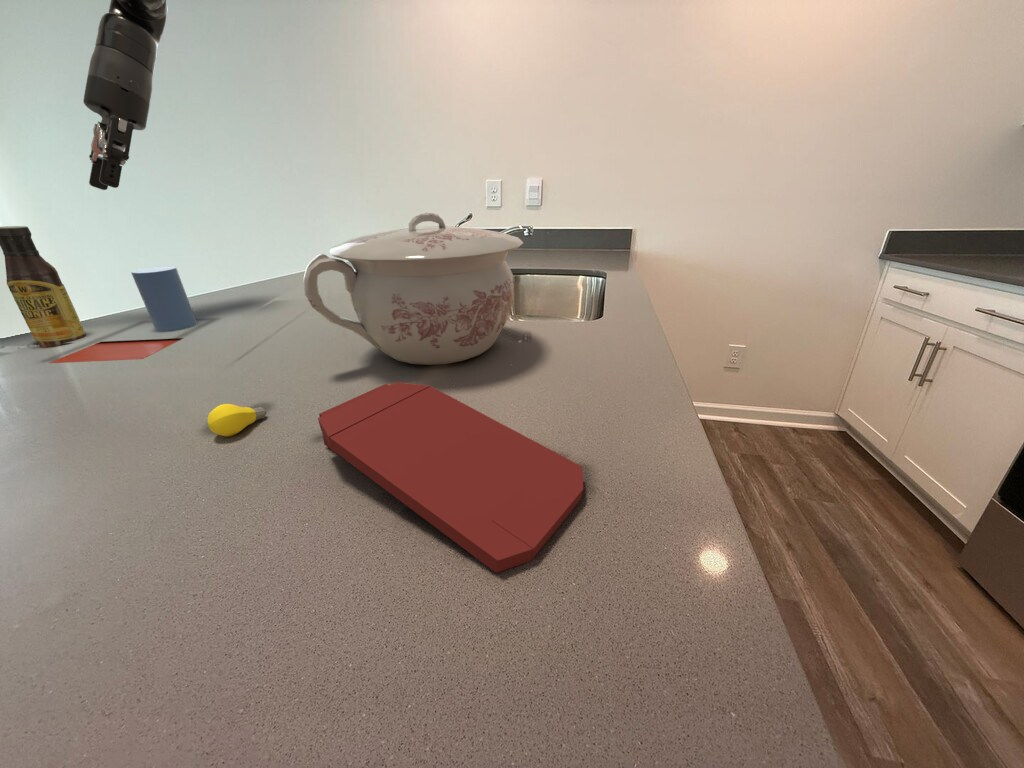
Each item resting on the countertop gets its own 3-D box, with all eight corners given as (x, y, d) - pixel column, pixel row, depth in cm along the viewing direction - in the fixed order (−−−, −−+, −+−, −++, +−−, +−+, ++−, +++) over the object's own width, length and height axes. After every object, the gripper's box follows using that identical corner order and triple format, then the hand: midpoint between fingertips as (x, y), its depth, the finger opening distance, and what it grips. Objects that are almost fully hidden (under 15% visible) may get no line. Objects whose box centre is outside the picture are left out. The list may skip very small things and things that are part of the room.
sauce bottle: (31, 353, 69) (-41, 229, 60) (57, 341, 74) (-6, 226, 66) (77, 349, 71) (14, 227, 62) (99, 337, 76) (44, 224, 67)
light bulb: (204, 441, 43) (196, 408, 43) (259, 428, 49) (252, 399, 48) (223, 438, 42) (215, 404, 41) (277, 425, 47) (270, 395, 47)
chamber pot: (529, 324, 77) (528, 206, 68) (516, 389, 53) (513, 217, 44) (387, 323, 80) (369, 209, 71) (313, 384, 56) (270, 222, 47)
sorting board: (50, 367, 63) (47, 363, 63) (145, 328, 81) (143, 324, 81) (144, 363, 64) (142, 358, 64) (218, 324, 82) (216, 321, 81)
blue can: (147, 334, 75) (121, 273, 70) (171, 324, 80) (148, 267, 75) (184, 333, 75) (160, 272, 70) (204, 322, 81) (184, 265, 76)
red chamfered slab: (584, 512, 37) (401, 404, 49) (596, 473, 35) (399, 369, 46) (506, 614, 29) (305, 453, 40) (514, 572, 26) (297, 413, 38)
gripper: (80, 82, 68) (63, 178, 69) (97, 63, 60) (78, 172, 61) (139, 110, 75) (123, 198, 76) (161, 97, 66) (143, 195, 67)
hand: (103, 186), depth 68 cm, fingers open, 8 cm apart
